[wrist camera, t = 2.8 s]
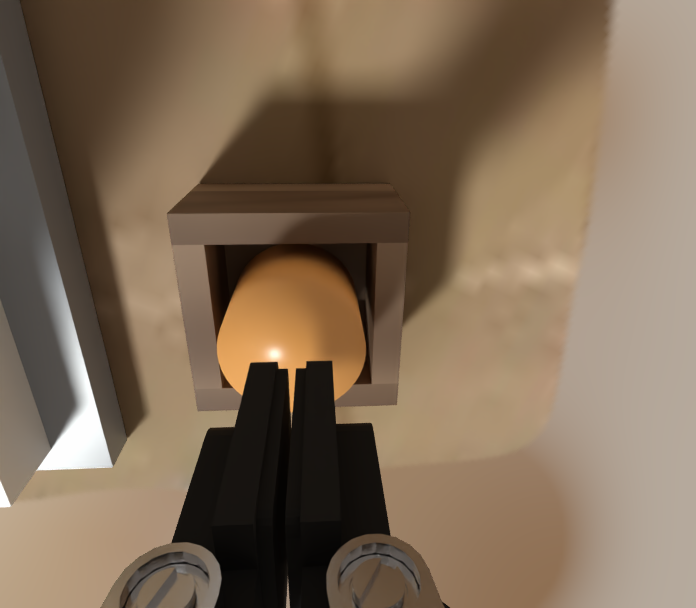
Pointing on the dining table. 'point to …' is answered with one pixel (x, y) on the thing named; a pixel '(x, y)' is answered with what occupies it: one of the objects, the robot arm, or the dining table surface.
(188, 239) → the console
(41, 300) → the double square holder tray
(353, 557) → the robot arm
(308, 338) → the button
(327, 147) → the dining table surface
